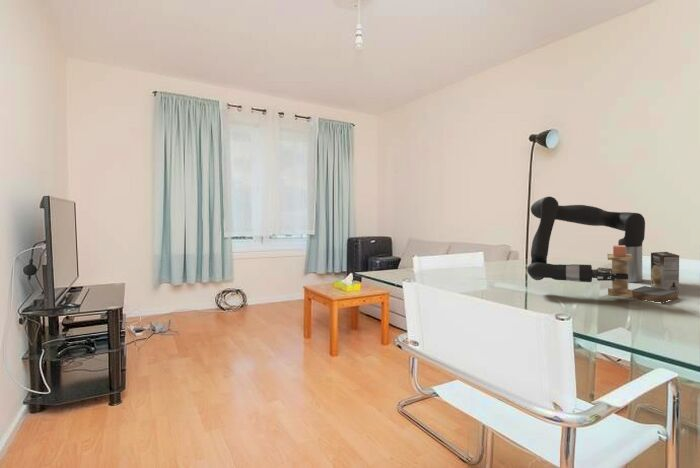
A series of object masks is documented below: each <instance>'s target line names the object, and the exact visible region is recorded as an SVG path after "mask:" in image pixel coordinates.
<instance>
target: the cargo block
mask: <svg viewBox="0 0 700 468" xmlns="http://www.w3.org/2000/svg"><path fill="white" fill-rule="evenodd" d="M612 247H613V248H612V254H613V257H626V247H625V245H618V244H615V245H614V244H613V245H612Z"/></svg>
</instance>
